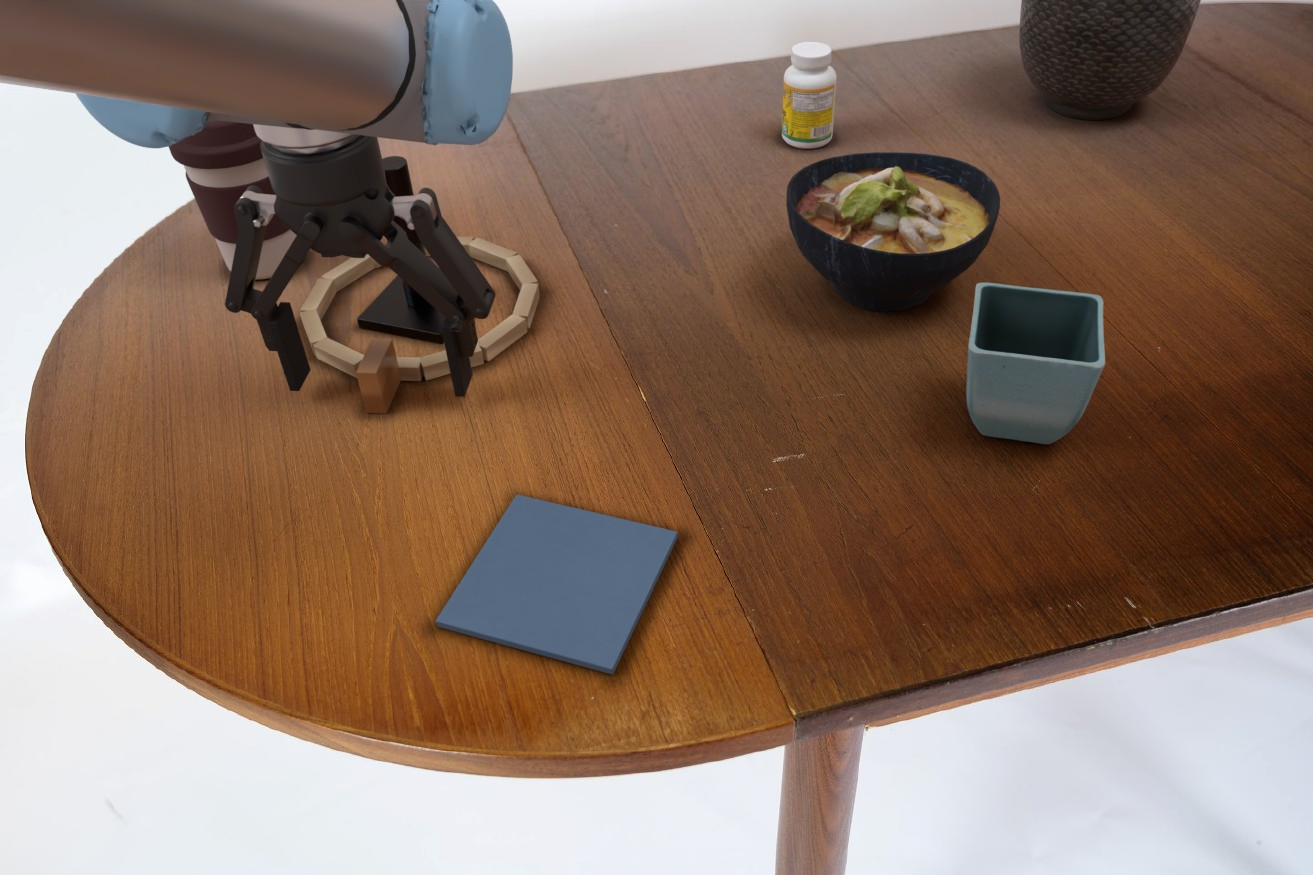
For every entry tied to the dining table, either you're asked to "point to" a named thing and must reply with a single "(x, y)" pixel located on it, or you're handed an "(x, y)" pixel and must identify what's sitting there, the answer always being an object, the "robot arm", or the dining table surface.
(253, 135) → the coffee cup
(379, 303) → the post on square base
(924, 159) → the bowl
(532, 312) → the segmented ring with tab
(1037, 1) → the planter
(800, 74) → the supplement bottle
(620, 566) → the mat
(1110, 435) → the dining table surface
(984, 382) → the flower pot
